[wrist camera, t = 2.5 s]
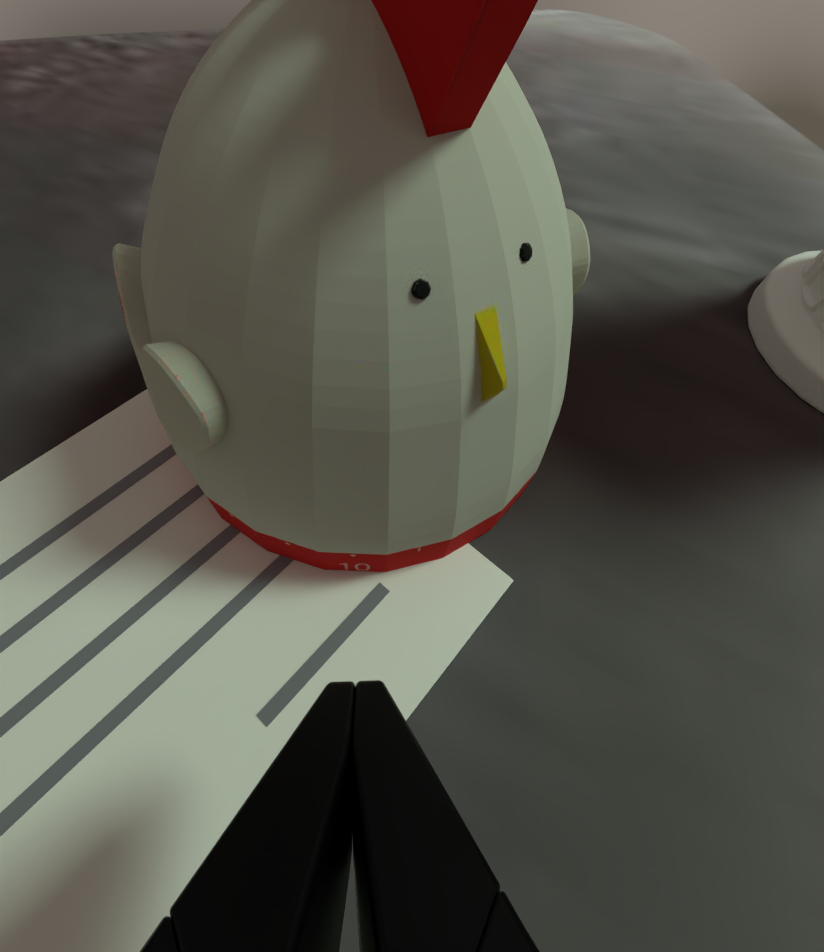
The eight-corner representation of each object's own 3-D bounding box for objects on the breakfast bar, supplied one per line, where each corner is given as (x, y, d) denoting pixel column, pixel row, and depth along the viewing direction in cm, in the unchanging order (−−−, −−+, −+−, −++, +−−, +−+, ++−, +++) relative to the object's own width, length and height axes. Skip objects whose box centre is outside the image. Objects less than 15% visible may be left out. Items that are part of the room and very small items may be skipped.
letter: (-149, 1442, 7) (-157, 1453, 7) (-405, 741, 11) (-413, 741, 11) (512, 581, 15) (513, 579, 15) (221, 343, 19) (221, 341, 19)
